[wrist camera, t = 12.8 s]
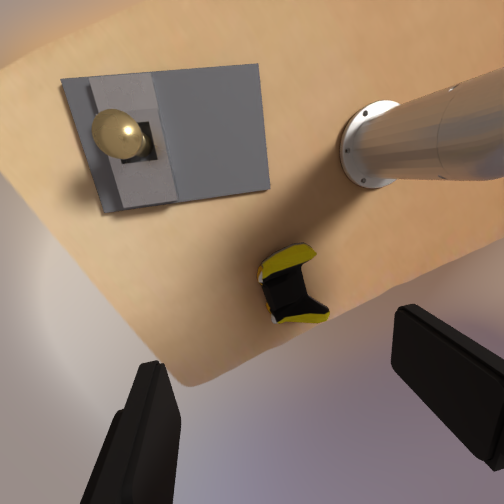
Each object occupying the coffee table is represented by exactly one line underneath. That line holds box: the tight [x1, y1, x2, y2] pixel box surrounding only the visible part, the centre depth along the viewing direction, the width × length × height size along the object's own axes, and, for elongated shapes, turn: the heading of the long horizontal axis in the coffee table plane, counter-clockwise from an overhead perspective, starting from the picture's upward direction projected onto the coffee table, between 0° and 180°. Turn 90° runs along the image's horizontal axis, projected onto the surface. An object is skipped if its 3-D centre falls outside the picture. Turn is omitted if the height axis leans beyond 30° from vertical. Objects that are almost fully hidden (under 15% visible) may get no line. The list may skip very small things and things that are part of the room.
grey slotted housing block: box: [89, 73, 180, 208], centre depth 31 cm, size 7×15×2 cm, turn 7°
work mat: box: [60, 63, 270, 213], centre depth 33 cm, size 24×16×1 cm, turn 97°
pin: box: [92, 109, 153, 159], centre depth 28 cm, size 4×4×9 cm
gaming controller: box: [257, 243, 330, 324], centre depth 41 cm, size 15×6×10 cm
